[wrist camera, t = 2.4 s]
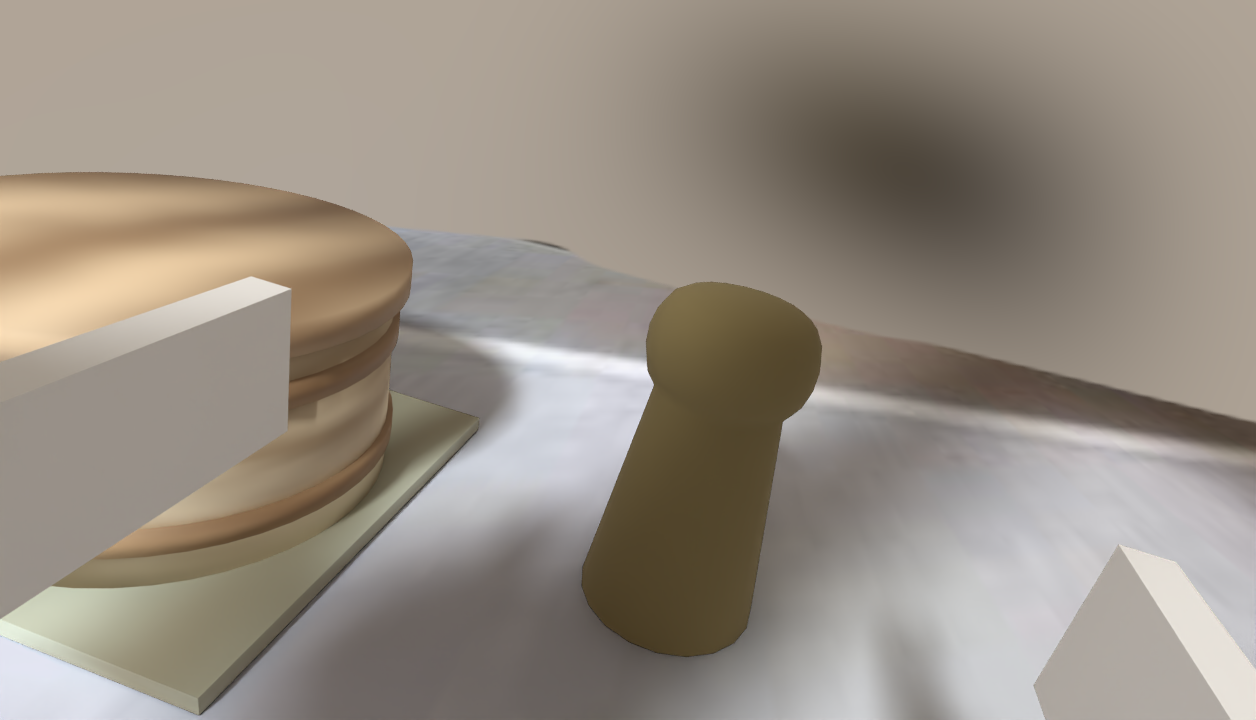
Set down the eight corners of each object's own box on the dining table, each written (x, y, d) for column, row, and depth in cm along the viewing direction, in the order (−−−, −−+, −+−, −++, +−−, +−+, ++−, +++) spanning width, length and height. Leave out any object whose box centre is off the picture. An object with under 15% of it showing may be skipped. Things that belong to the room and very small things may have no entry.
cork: (572, 528, 27) (629, 250, 23) (722, 535, 29) (803, 275, 24) (592, 655, 22) (671, 326, 18) (774, 657, 24) (890, 353, 19)
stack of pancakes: (478, 429, 32) (501, 244, 29) (199, 715, 18) (180, 415, 15) (170, 333, 35) (159, 151, 31) (-293, 517, 20) (-410, 218, 17)
